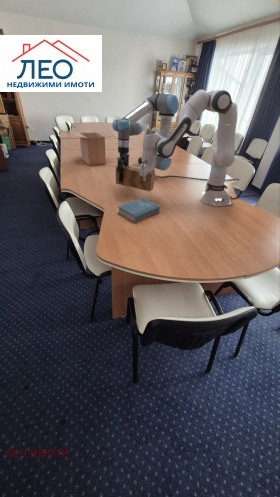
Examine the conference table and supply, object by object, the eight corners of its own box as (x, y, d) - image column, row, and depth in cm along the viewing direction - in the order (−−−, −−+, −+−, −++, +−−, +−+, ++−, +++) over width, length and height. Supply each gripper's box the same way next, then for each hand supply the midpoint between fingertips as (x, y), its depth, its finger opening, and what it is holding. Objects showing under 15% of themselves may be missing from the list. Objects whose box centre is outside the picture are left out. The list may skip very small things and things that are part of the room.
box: (116, 165, 229) (116, 136, 213) (83, 168, 214) (80, 137, 198) (102, 154, 259) (101, 128, 243) (71, 156, 244) (68, 129, 228)
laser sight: (157, 166, 235) (158, 156, 229) (137, 164, 238) (137, 154, 232) (158, 164, 242) (159, 154, 236) (138, 161, 245) (139, 152, 239)
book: (142, 204, 158) (143, 197, 155) (159, 212, 149) (160, 205, 146) (118, 213, 145) (118, 206, 142) (134, 223, 136) (135, 216, 133)
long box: (115, 183, 164) (115, 166, 156) (119, 181, 168) (119, 164, 161) (150, 191, 155) (151, 174, 148) (153, 188, 160) (154, 171, 152)
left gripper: (121, 149, 141) (121, 185, 155) (134, 144, 155) (133, 177, 169) (111, 148, 143) (112, 182, 157) (125, 143, 157) (124, 175, 171)
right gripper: (146, 163, 138) (145, 184, 146) (158, 156, 153) (156, 176, 161) (137, 161, 140) (136, 182, 148) (149, 154, 155) (148, 174, 163)
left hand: (123, 180), depth 163 cm, fingers closed on long box, 6 cm apart
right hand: (146, 179), depth 155 cm, fingers closed on long box, 6 cm apart
